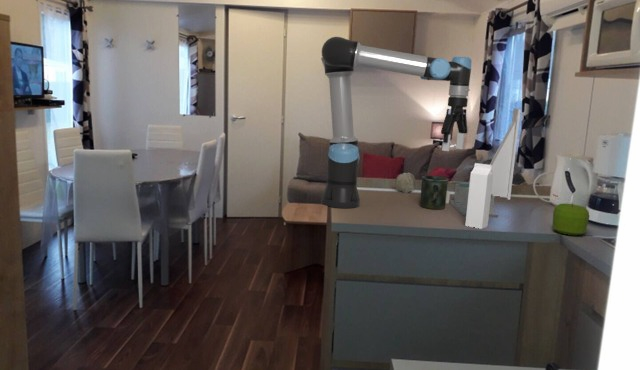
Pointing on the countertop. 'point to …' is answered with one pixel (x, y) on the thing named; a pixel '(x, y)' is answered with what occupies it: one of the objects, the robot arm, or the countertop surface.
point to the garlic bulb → (405, 182)
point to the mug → (433, 192)
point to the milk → (479, 196)
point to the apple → (570, 219)
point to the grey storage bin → (462, 199)
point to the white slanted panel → (505, 160)
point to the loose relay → (447, 197)
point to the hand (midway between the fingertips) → (452, 149)
